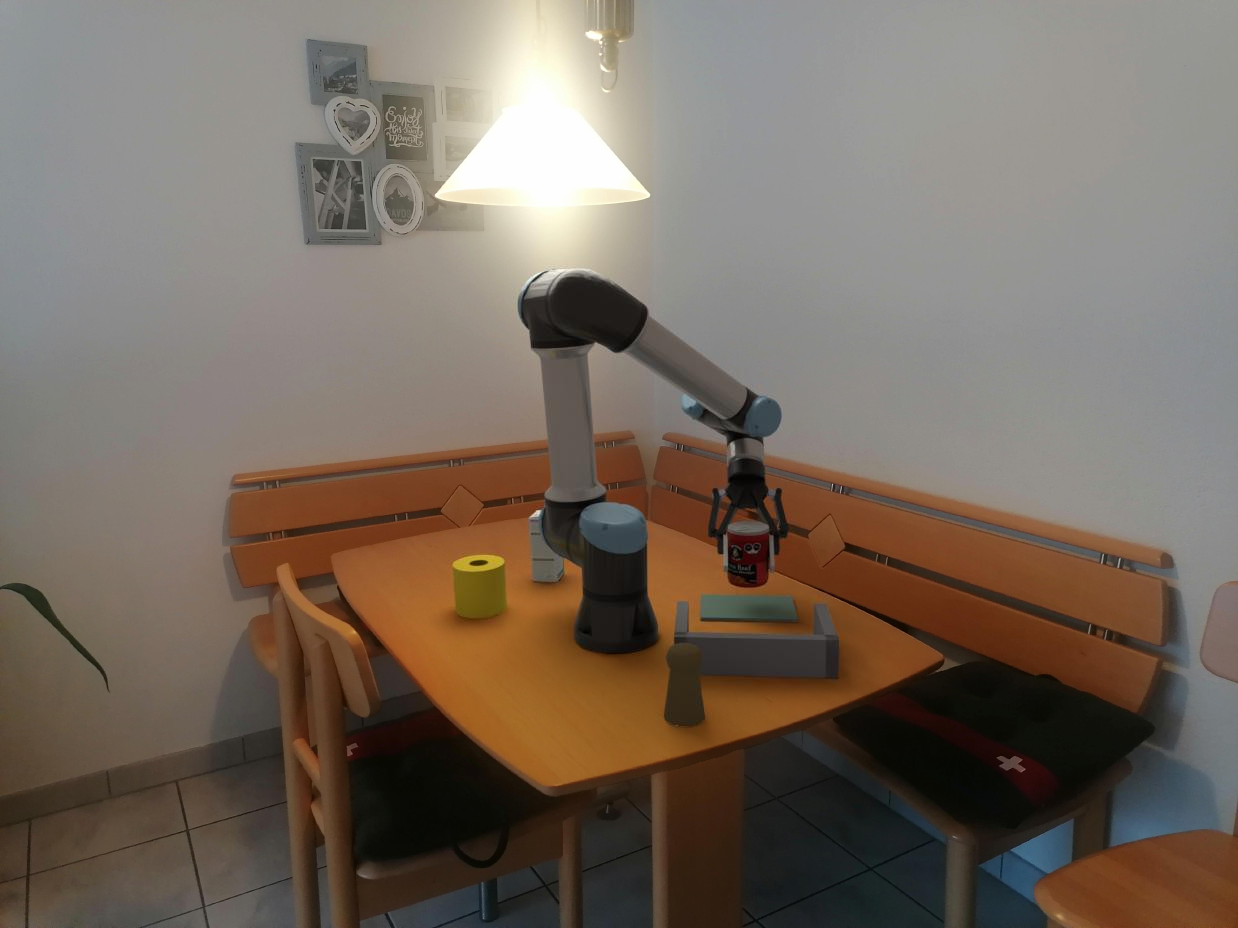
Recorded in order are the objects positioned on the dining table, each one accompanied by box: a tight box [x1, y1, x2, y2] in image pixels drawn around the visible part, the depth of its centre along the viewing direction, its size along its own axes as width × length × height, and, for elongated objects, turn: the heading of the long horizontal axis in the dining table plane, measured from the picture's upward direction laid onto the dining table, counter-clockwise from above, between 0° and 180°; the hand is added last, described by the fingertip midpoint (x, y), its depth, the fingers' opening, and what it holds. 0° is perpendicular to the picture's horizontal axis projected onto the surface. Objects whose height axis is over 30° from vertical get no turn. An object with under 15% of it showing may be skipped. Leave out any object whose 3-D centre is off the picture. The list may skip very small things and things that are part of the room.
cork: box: [663, 643, 706, 727], centre depth 123 cm, size 6×6×11 cm
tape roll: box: [452, 554, 508, 619], centre depth 167 cm, size 10×10×9 cm
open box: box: [673, 600, 840, 679], centre depth 143 cm, size 26×16×6 cm, turn 84°
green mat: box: [699, 593, 799, 623], centre depth 164 cm, size 18×12×1 cm, turn 84°
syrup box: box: [528, 509, 565, 583], centre depth 183 cm, size 6×6×14 cm
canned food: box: [726, 520, 770, 589], centre depth 162 cm, size 8×8×11 cm
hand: (748, 569), depth 159 cm, fingers closed on canned food, 8 cm apart
